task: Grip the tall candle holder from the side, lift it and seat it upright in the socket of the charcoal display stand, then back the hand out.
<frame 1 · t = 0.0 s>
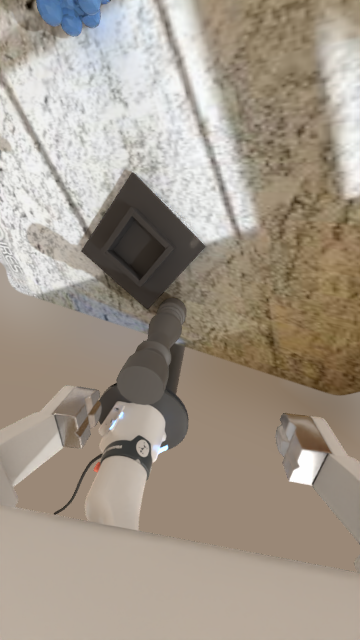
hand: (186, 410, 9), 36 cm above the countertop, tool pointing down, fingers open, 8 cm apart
candle holder: (173, 310, 46), on the countertop
display stand: (142, 248, 42), on the countertop
grapes: (101, 27, 30), on the countertop
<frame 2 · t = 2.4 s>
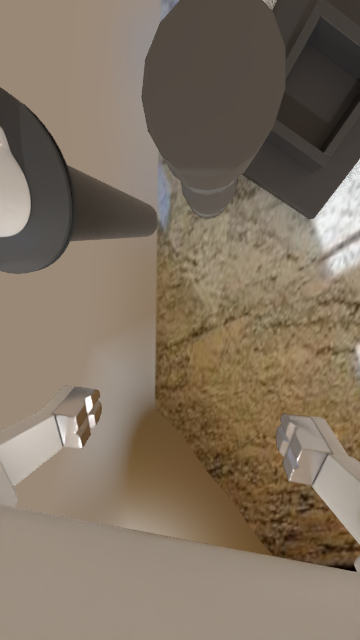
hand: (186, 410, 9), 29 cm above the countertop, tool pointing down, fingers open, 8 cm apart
candle holder: (208, 196, 31), on the countertop
display stand: (304, 112, 26), on the countertop
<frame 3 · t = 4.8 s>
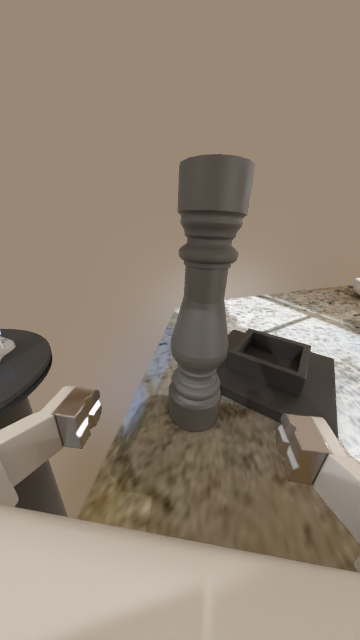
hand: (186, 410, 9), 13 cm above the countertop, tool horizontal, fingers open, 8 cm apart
candle holder: (192, 410, 26), on the countertop
display stand: (265, 372, 33), on the countertop
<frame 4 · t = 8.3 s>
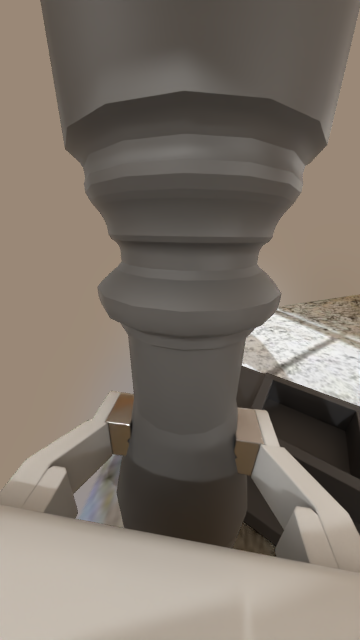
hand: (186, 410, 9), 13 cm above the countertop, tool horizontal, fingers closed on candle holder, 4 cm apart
candle holder: (179, 563, 14), on the countertop, touching gripper
display stand: (296, 449, 21), on the countertop
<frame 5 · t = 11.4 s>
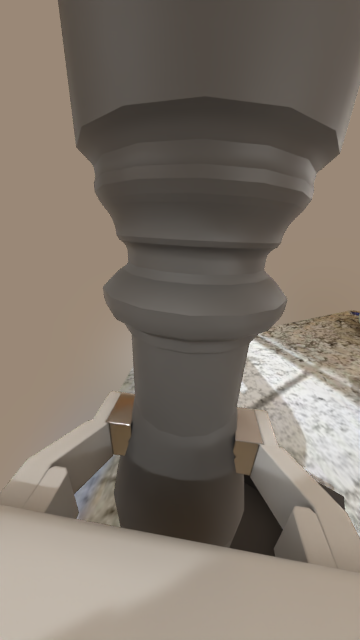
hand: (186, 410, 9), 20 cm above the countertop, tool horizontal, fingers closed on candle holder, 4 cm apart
candle holder: (173, 562, 14), point 7 cm above the countertop, touching gripper
display stand: (234, 532, 20), on the countertop
when the fingers open (14 cm above the countertop, at t = 14.6 s): candle holder stays where it is, resting on display stand.
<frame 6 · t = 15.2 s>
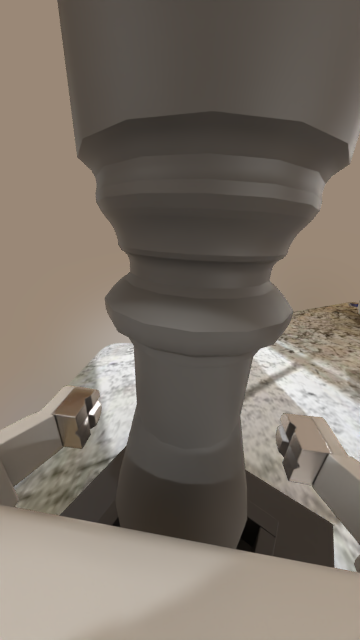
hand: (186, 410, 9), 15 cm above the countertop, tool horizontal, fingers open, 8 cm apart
candle holder: (175, 568, 14), point 1 cm above the countertop, touching display stand
display stand: (173, 579, 14), on the countertop
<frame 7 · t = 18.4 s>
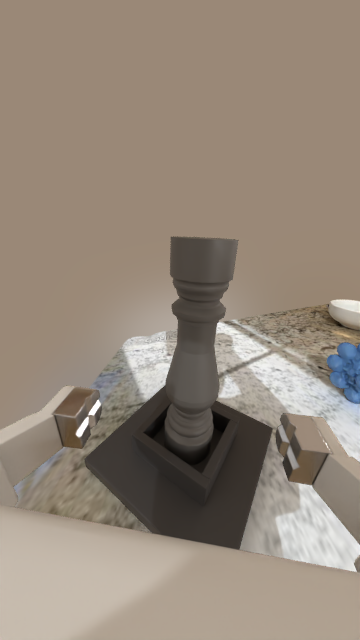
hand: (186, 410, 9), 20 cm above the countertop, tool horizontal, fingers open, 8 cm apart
candle holder: (187, 441, 27), point 1 cm above the countertop, touching display stand
cereal bowl: (353, 326, 70), on the countertop
display stand: (186, 449, 28), on the countertop
grapes: (352, 405, 36), on the countertop
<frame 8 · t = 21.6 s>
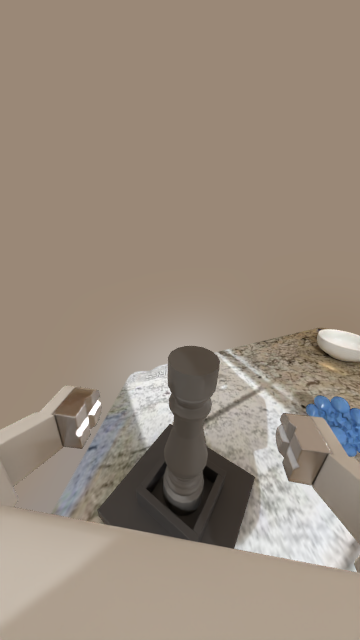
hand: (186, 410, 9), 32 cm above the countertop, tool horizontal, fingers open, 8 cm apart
candle holder: (182, 491, 32), point 1 cm above the countertop, touching display stand
cereal bowl: (339, 356, 75), on the countertop
display stand: (181, 497, 33), on the countertop
grapes: (327, 449, 42), on the countertop
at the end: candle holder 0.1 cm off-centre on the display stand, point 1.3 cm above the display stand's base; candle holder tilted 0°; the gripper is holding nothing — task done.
